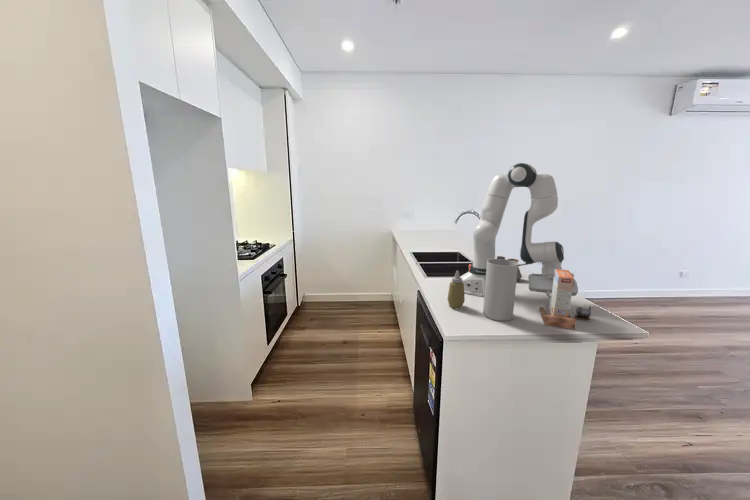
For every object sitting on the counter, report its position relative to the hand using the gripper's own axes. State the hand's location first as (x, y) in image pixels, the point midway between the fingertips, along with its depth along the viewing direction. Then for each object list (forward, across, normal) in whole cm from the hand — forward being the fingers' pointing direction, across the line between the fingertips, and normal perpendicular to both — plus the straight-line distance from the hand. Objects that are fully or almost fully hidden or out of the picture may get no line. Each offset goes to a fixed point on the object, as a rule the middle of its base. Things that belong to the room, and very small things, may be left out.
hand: (553, 301), depth 141 cm
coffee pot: (-27, -11, +34) cm, 45 cm away
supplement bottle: (-36, -22, +43) cm, 60 cm away
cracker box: (+9, +1, -2) cm, 10 cm away
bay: (+10, 0, -3) cm, 11 cm away
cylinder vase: (+14, -24, -7) cm, 28 cm away
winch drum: (+7, +11, 0) cm, 13 cm away
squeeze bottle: (+11, -43, -4) cm, 44 cm away
